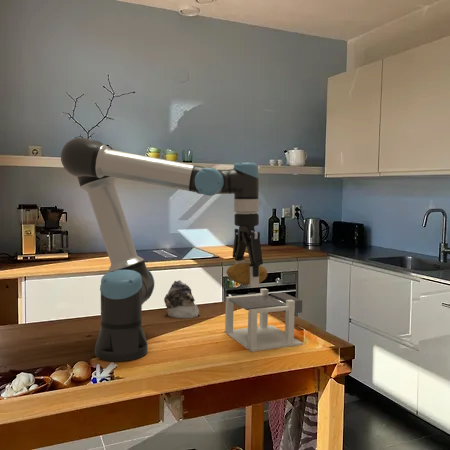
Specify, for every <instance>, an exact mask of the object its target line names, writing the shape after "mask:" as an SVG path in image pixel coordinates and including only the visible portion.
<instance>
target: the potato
mask: <svg viewBox="0 0 450 450" xmlns="http://www.w3.org/2000/svg"><path fill="white" fill-rule="evenodd" d="M250 264H251V262H244V263H239V264H236V263H234V264H232V265H230V266H229V267H228V268H227V269H226V275H227V276H228V278H229V279H230V280H231V281H233V282H234V283H237V284H239V285H242V286H250V266H249V265H250ZM267 277H268V271H267V269H266V268H265V266H262V265H260V266H259V284H260V283H262V282H264V281H265V280H266V278H267Z"/></svg>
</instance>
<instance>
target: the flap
mask: <svg viewBox="0 0 450 450" xmlns="http://www.w3.org/2000/svg"><path fill="white" fill-rule="evenodd" d="M269 294H270V295H269ZM269 294H268V295H267V294H266V295H265V296H255V297H244V298H232V299H229V301H231V302H233V303H234V304H235V305H237V306H238V307H240V308H242V309H244V310H245V311H249V309H258V308H268V307H278V306H286V300H293V301H295V314H302V313H303V300H302V299H301V298H298V297H295V296H292V295H291V294H288V293H286V292H272V293H271V292H270V293H269ZM282 312H284V313H285V314H286V310H285V311H282Z"/></svg>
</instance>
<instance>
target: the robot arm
mask: <svg viewBox="0 0 450 450" xmlns="http://www.w3.org/2000/svg"><path fill="white" fill-rule="evenodd" d="M60 161H61V165H62V166H63V168H64V169H65V171H66V172H67V173H69V174H70V175H72V176H74V177H77V181H78V183H79V186H80V188H81V189H82V190H84V191H85V192H87V195H88V197H89V201H90V203H91V207H92V210H93V212H94V215H95V219H96V222H97V226H98V228H99V231H100V234H101V237H102V240H103V241H102V242H103V243H104V246H105V250H106V252H107V255H108V259H109V261H110V266H109V268H108V272H107V273H105V274H104V275H102V277H101V280H100V287H99V290H100V330H99V332H98V335H97V339H96V342H95V344H94V345H95V346H94V356H95V357H96V358H97V359H100V360H103V361H106V362H107V361H108V362H127V361H132V360H138V359H140V358H142V357H144V356H146V355H147V354H148V347H149V346H148V341H147V337H146V335H145V332H144V329H143V326H142V325H143V323H142V322H143V321H142V319H143V318H142V316H143V314H142V313H143V312H142V311H143V310H142V307H143V305H144V303H145V302H147V301H148V300H149V299H150V297H151V296H152V294H153V293H154V292H153V291H154V289H155V279H154V275H153V274H152V272H151V271H150V270H149V269H148V268H147V265H146V262H145V259H144V258H143V257H141V256H139V255H138V253H137V251H136V247H135V244H134V241H133V238H132V235H131V232H130V228H129V225H128V223H127V220H126V216H125V213H124V211H123V208H122V204H121V201H120V198H119V195H118V192H117V189H116V185H115V182H116V180H117V179H121V180H122V179H123V180H127V181H133V182H139V183H143V184H144V183H145V184H149V185H156V186H161V187H165V188H171V189H176V190H182V191H187V192H191V193H196V194H198V195H204V196H209V197H211V196H215V195H226V194H227V195H230V194H231V195H233V194H234V195H233V196H234V198H233V206H234V207H233V209H234V210H233V211H234V213H235V214H234V226H235V227H238V228H234V240H233V247H232V249H233V250H232V259H234V261H235V264H239V263H245V260H246V259H245V253H246V249H247V253H248V256H249V257H248V258H249V261H250V262H249V263H251V264H250V265H249V266H250V285H249V288H251V289H253V288H259V287H260V283H259V266H260V265H261V266H262V265H263V263H264V261H263V254H262V253H263V252H262V246H261V232H260V231H256V230H255V227H256V226H259V224H260V219H259V218H260V216H259V213H258V212H259V205H260V201H259V193H260V192H259V185H260V184H259V166H258V164H257V163H255V162H235V163H234V164H233V168H232V169H216V168H215V167H209V166H207V167H206V166H200V165H195V164H190V163H185V162H180V161H175V160H174V161H173V160H170V159H163V158H159V157H153V156H148V155H142V154H137V153H136V154H135V153H132V152H125V151H121V150H116V149H111V148H110V147H109V146H107V144H105V143H103V142H101V141H98V140H93V139H89V138H86V137H75V138H73V139H70V140H69V141H67V142H66V143H65V144H64V145H63V147H62V149H61V151H60Z"/></svg>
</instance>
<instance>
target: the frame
mask: <svg viewBox="0 0 450 450" xmlns="http://www.w3.org/2000/svg"><path fill="white" fill-rule="evenodd" d="M259 290H260V293H255V294H244V295H234V296H233V295H232V296H226V297H225V313H224V314H225V316H224V317H225V318H224V319H225V321H224V322H225V324H224V326H225V327H224V328H225V329H224V333H225V334H226V335H228V336H229V337H230V338H232V339H233V340H235V341H236V342H237V343H239V344H240V345H242V347H244V348H245V349H247V350H248V351H249V352H251V353H252V352H253V353H254V352H260V351H267V350H273V349H280V348H286V347H287V348H288V347H295V346H301V345H303V344H304V342H302V341H300V340H298V339H297V338H295V316H296V315H295V314H296V313H295V301H293V300H286V306H278V307H268V308H258V309H249V310H248V315H247V316H248V317H247V327H244V328H236V329H235V328H234V306H235V305H234V304H235V303H233V302H231V301H229V299H232V298H244V297H255V296H265V295H266V294H267V295H269V289H267V288H260V289H259ZM285 310H286V313H285V319H284V321H285V322H284V324H285V325H284V331H282V330H281V329H279V328H277V327H276V326H274V325H272V324H270V325H268V319H269V316H268V314H269V313H273V312H274V313H275V312H283V311H285ZM258 314H259V326H258Z"/></svg>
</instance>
